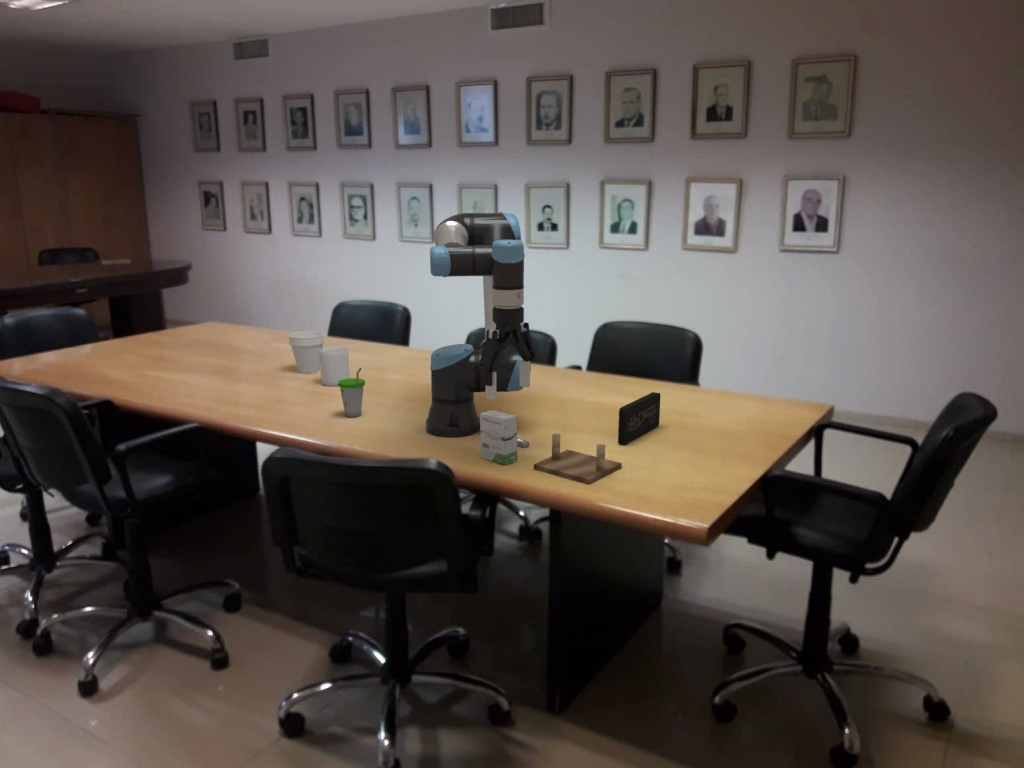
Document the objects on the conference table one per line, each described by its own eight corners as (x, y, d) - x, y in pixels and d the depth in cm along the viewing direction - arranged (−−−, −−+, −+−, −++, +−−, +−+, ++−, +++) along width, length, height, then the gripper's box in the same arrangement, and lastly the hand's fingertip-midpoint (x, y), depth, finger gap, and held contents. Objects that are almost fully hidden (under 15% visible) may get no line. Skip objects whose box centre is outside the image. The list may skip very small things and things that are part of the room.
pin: (506, 442, 216) (501, 441, 215) (507, 435, 216) (503, 434, 215) (528, 448, 211) (523, 448, 209) (530, 441, 211) (525, 440, 209)
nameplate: (652, 425, 229) (654, 391, 227) (659, 426, 228) (660, 392, 226) (617, 444, 213) (619, 408, 210) (624, 446, 212) (625, 409, 209)
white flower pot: (288, 369, 296) (285, 332, 292) (322, 366, 301) (320, 330, 297) (294, 376, 285) (292, 338, 282) (329, 373, 290) (327, 335, 287)
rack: (533, 468, 195) (533, 440, 193) (567, 454, 205) (567, 426, 204) (588, 484, 185) (589, 454, 183) (621, 467, 196) (622, 439, 194)
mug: (337, 388, 270) (335, 353, 267) (309, 383, 276) (307, 350, 273) (355, 381, 278) (353, 348, 275) (328, 377, 284) (326, 345, 281)
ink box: (518, 460, 201) (518, 415, 198) (504, 466, 197) (504, 419, 194) (493, 453, 206) (493, 408, 203) (479, 457, 203) (478, 412, 200)
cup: (337, 413, 241) (335, 364, 237) (364, 410, 244) (361, 362, 240) (342, 420, 234) (339, 369, 230) (369, 417, 237) (366, 367, 233)
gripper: (487, 315, 181) (488, 406, 186) (550, 300, 200) (549, 384, 205) (462, 311, 185) (463, 400, 191) (526, 298, 204) (526, 379, 210)
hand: (508, 392), depth 198 cm, fingers open, 13 cm apart
